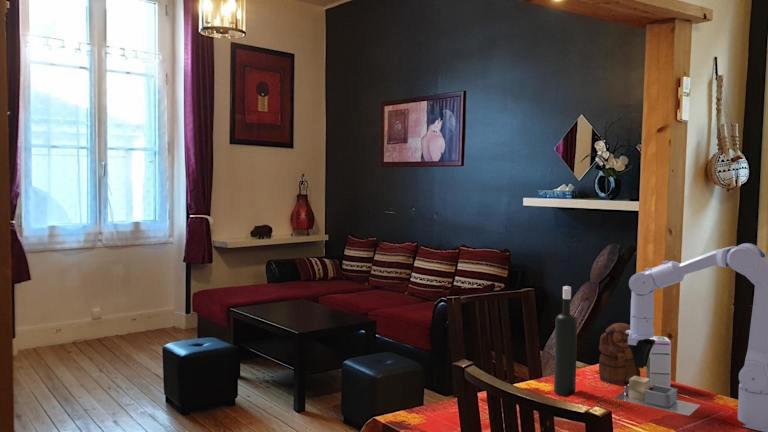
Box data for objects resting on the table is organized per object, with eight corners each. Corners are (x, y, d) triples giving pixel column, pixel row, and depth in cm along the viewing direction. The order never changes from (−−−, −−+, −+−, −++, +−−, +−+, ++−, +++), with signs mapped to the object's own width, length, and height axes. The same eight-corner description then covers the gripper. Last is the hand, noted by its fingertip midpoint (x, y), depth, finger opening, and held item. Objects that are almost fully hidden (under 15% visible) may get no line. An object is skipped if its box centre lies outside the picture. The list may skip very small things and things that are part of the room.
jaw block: (649, 396, 172) (649, 378, 171) (644, 400, 169) (644, 382, 168) (634, 393, 174) (634, 375, 174) (628, 397, 171) (629, 379, 171)
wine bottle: (554, 395, 175) (557, 287, 174) (553, 388, 181) (555, 284, 179) (576, 396, 174) (579, 288, 173) (574, 390, 180) (576, 285, 178)
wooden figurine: (607, 388, 181) (608, 326, 180) (596, 381, 188) (598, 321, 187) (645, 387, 183) (647, 325, 182) (634, 380, 189) (636, 320, 188)
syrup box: (671, 392, 179) (672, 341, 178) (648, 390, 180) (650, 339, 179) (666, 385, 184) (667, 336, 184) (644, 384, 186) (646, 335, 185)
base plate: (700, 408, 166) (700, 395, 165) (689, 419, 158) (689, 405, 158) (627, 392, 178) (627, 380, 178) (613, 401, 170) (613, 389, 170)
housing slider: (677, 399, 168) (677, 388, 168) (668, 407, 163) (668, 395, 163) (653, 394, 172) (654, 383, 172) (644, 401, 167) (644, 390, 167)
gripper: (636, 310, 178) (635, 358, 179) (616, 318, 167) (615, 369, 168) (662, 314, 174) (661, 363, 174) (644, 322, 163) (642, 374, 163)
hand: (640, 366), depth 171 cm, fingers closed
